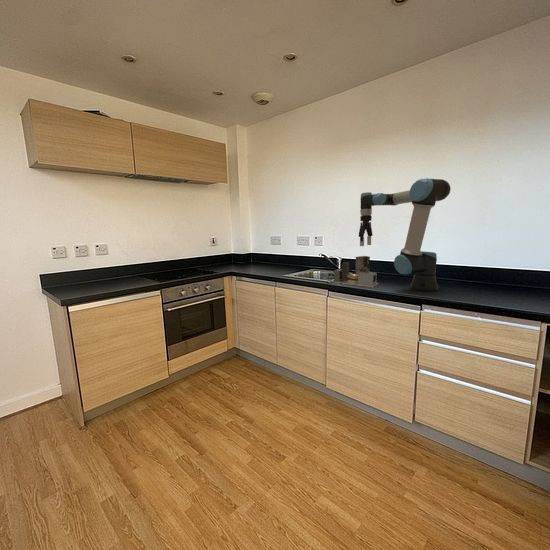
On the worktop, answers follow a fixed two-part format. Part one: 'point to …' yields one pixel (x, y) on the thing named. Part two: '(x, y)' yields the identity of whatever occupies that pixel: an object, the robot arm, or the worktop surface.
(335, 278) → the socket
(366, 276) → the guide
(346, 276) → the brown stepped block
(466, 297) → the worktop surface
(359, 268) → the coffee box
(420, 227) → the robot arm
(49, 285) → the worktop surface
